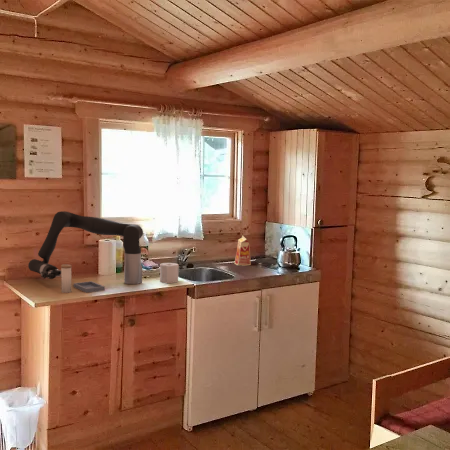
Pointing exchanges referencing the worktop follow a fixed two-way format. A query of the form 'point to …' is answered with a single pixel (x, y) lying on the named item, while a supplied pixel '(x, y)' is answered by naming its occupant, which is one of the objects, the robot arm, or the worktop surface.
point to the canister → (66, 278)
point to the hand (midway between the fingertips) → (60, 276)
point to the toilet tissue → (169, 272)
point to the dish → (89, 286)
